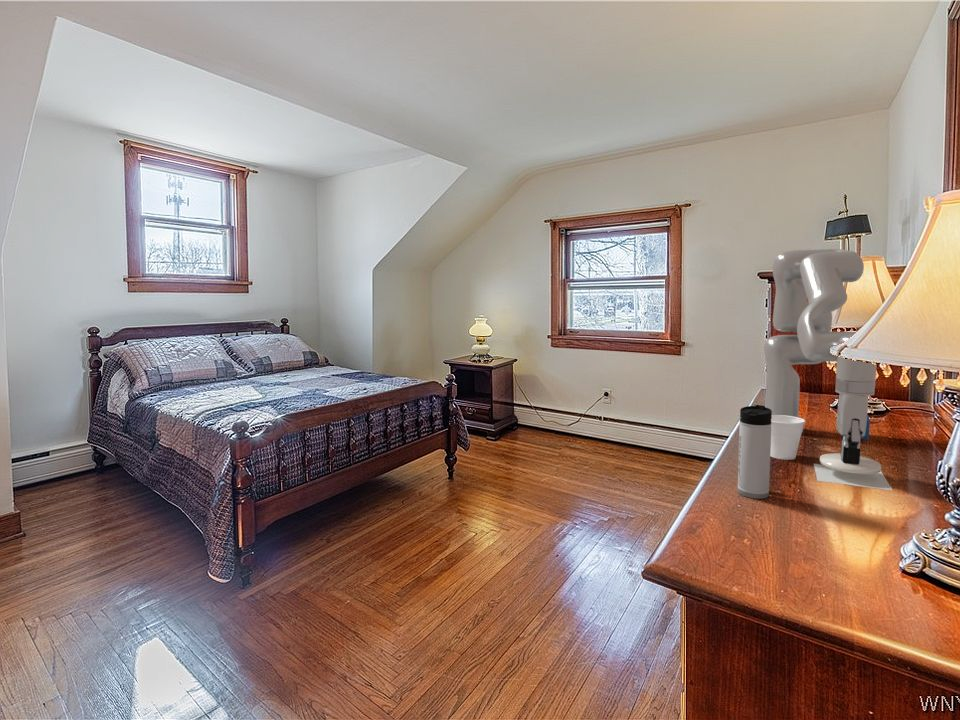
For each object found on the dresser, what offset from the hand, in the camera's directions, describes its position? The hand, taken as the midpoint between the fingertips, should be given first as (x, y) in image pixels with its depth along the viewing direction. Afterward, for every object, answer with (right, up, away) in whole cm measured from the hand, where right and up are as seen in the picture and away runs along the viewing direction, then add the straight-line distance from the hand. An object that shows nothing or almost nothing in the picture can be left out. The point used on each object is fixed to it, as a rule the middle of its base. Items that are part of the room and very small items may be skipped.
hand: (849, 460), depth 121 cm
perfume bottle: (+28, 0, +35) cm, 45 cm away
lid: (0, -1, 0) cm, 1 cm away
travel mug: (-28, -6, -8) cm, 30 cm away
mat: (0, -4, 0) cm, 4 cm away
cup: (-6, -3, +16) cm, 18 cm away
